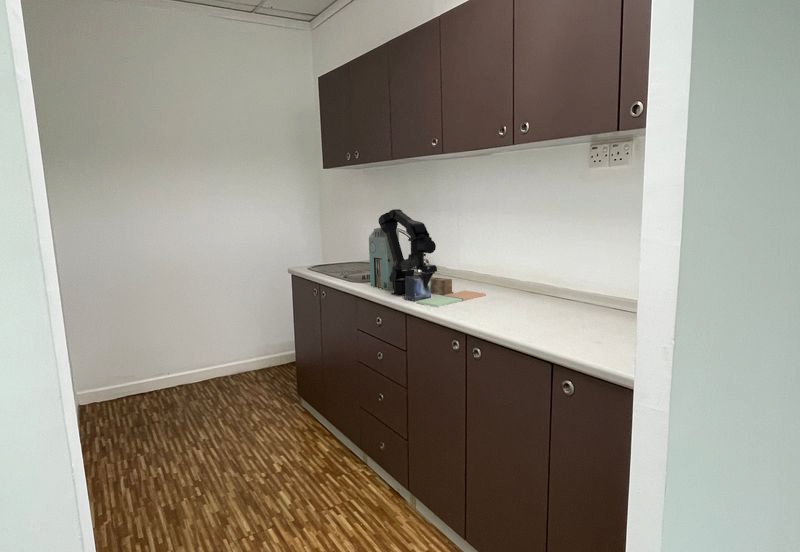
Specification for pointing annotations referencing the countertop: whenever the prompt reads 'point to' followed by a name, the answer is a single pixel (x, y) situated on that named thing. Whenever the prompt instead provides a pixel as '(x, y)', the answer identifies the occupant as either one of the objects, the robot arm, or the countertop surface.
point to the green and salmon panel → (450, 298)
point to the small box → (416, 288)
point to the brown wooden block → (441, 286)
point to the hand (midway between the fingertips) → (418, 286)
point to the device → (380, 260)
